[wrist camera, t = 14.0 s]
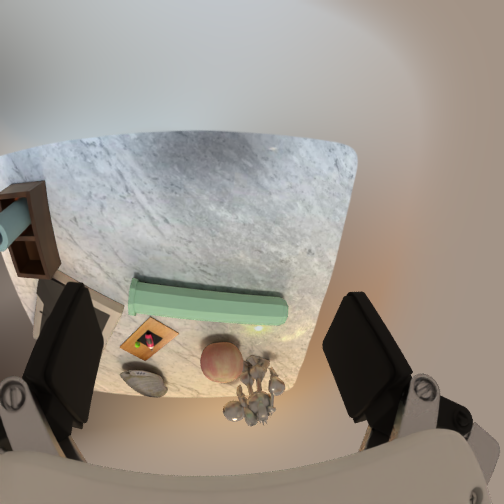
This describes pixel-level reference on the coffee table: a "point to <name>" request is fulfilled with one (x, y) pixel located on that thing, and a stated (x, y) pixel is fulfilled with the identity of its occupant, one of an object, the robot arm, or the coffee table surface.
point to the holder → (33, 233)
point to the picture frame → (50, 292)
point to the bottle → (13, 222)
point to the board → (148, 339)
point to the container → (205, 305)
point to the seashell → (145, 382)
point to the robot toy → (254, 393)
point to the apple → (221, 362)
